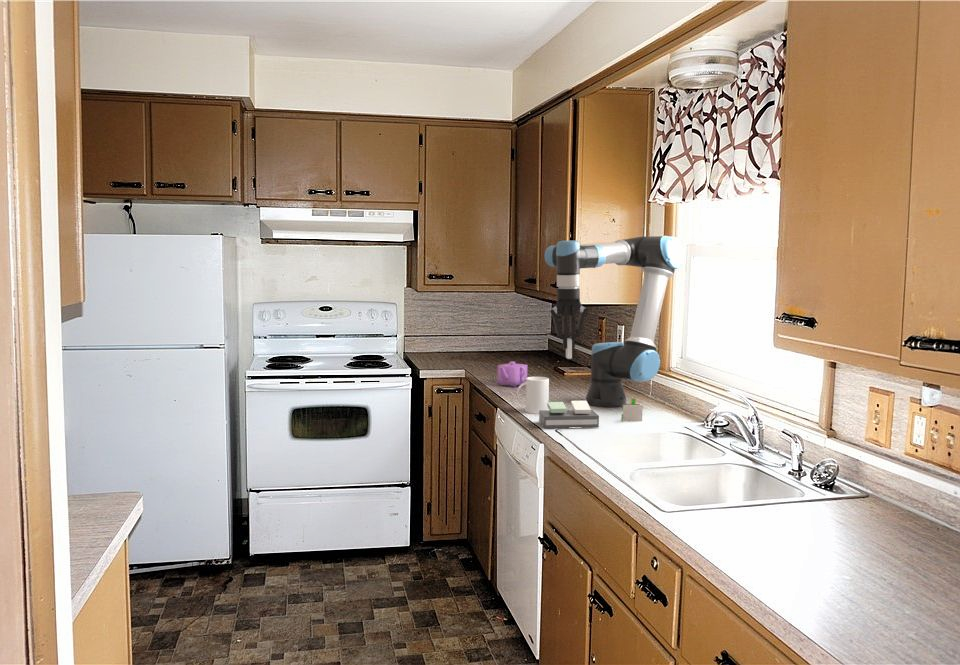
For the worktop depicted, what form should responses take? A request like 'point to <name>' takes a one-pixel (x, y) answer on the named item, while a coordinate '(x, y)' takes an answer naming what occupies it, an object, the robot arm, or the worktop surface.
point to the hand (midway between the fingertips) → (568, 358)
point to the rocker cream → (580, 407)
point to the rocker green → (557, 407)
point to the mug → (535, 394)
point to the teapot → (512, 374)
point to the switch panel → (567, 419)
